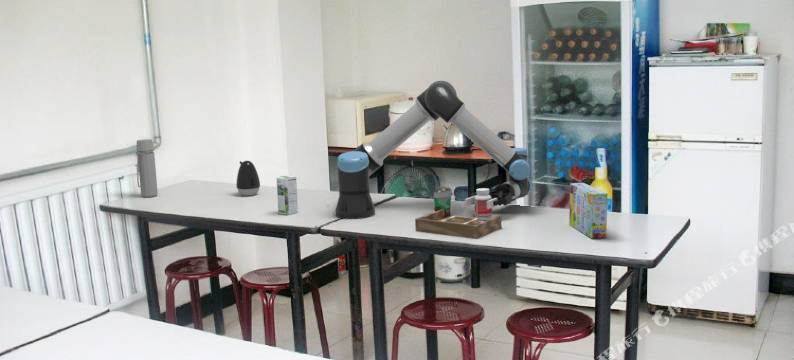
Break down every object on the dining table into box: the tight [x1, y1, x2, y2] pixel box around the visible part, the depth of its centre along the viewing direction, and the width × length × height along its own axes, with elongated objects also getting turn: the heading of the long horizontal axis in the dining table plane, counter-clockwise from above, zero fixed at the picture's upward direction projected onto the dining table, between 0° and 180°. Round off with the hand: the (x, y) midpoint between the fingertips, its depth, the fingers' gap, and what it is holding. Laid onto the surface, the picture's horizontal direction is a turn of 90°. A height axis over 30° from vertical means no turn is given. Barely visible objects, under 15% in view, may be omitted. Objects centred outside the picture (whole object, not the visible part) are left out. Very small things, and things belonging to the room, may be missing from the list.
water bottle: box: [135, 138, 159, 198], centre depth 373 cm, size 9×8×25 cm
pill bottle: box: [474, 187, 493, 222], centre depth 308 cm, size 6×6×11 cm
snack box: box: [568, 182, 609, 240], centre depth 284 cm, size 21×6×15 cm, turn 9°
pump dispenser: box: [236, 160, 261, 197], centre depth 369 cm, size 10×10×15 cm
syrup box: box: [276, 175, 299, 216], centre depth 329 cm, size 6×6×14 cm
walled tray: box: [414, 209, 502, 239], centre depth 294 cm, size 17×24×4 cm
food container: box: [433, 186, 454, 218], centre depth 316 cm, size 12×6×10 cm, turn 168°
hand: (476, 203), depth 304 cm, fingers open, 8 cm apart
